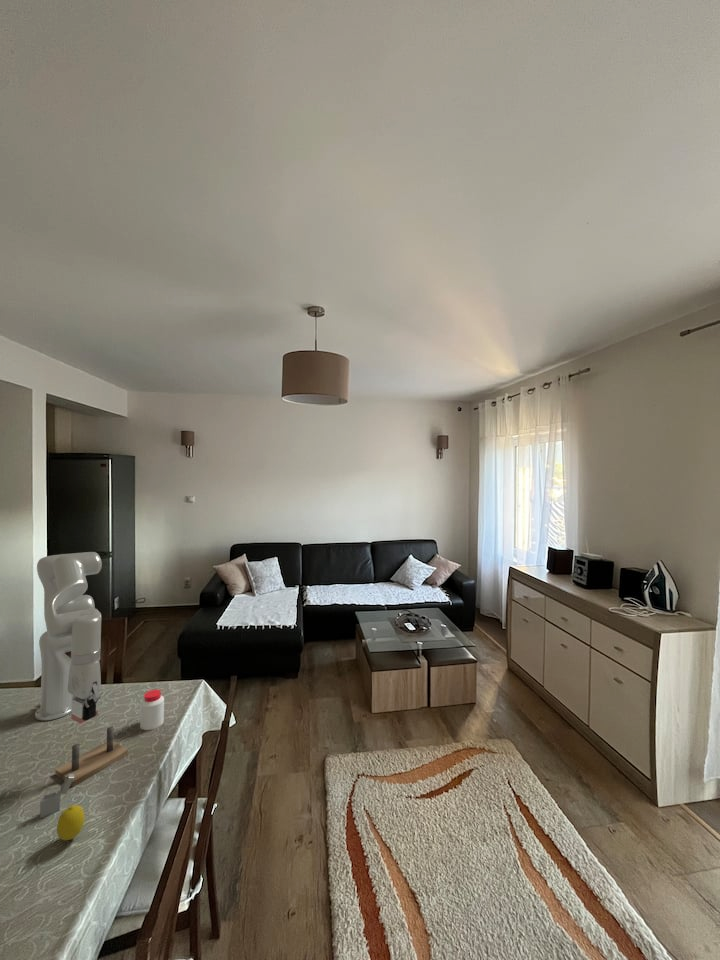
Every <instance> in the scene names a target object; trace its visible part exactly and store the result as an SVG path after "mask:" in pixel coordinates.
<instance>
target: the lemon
mask: <svg viewBox="0 0 720 960" xmlns="http://www.w3.org/2000/svg"><path fill="white" fill-rule="evenodd" d="M85 819H86V817H85V810H84V809H83V807H82V806H81V805H78V804H77V805H76V804H75V805H71V806H69V807H67V808H66V809H64V811H63V812H62V813H61V814H60V815H59V817H58V821H57V824H56V834H57V836H58V838H60V840H63V841H69V840H72V839H74V838H75V837H77V836H78V834H79V833H80V832H81V831H82V829H83V827H84V824H85Z"/></svg>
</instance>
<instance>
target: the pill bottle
mask: <svg viewBox="0 0 720 960" xmlns="http://www.w3.org/2000/svg"><path fill="white" fill-rule="evenodd" d="M143 696H144V697H143V699H142V700H141V701H140V706H139V707H140V710H139V711H140V712H139V713H140V714H139V728H140V729H141V730H144V731H152V730H155V729H157V728H159V727H161V726H162V725H163V724H164V721H165V714H164V713H165V697H164V696H163V695H162V690H159V689H152V690H149V691H146V692H145V693H144V694H143Z"/></svg>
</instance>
